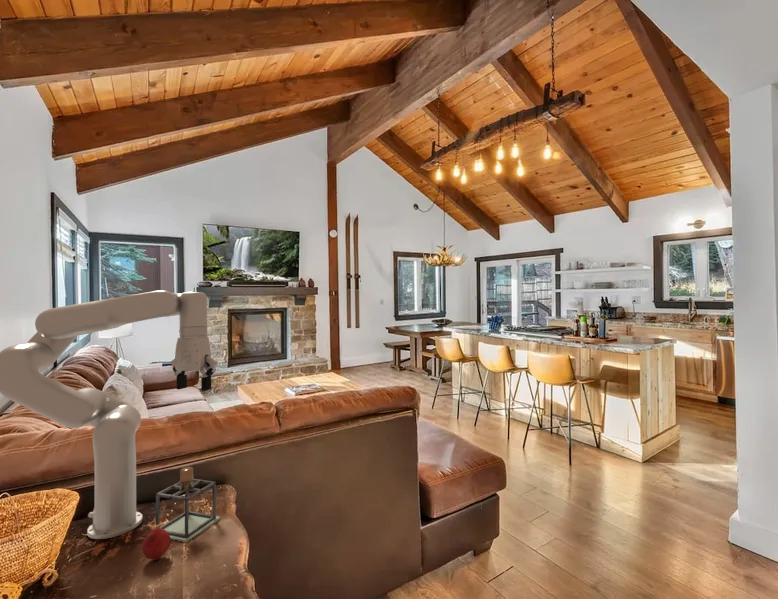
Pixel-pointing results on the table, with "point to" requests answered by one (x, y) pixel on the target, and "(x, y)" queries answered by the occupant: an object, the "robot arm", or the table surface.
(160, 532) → the onion
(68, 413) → the robot arm
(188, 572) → the table surface
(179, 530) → the mat
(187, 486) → the dark grey metal frame
